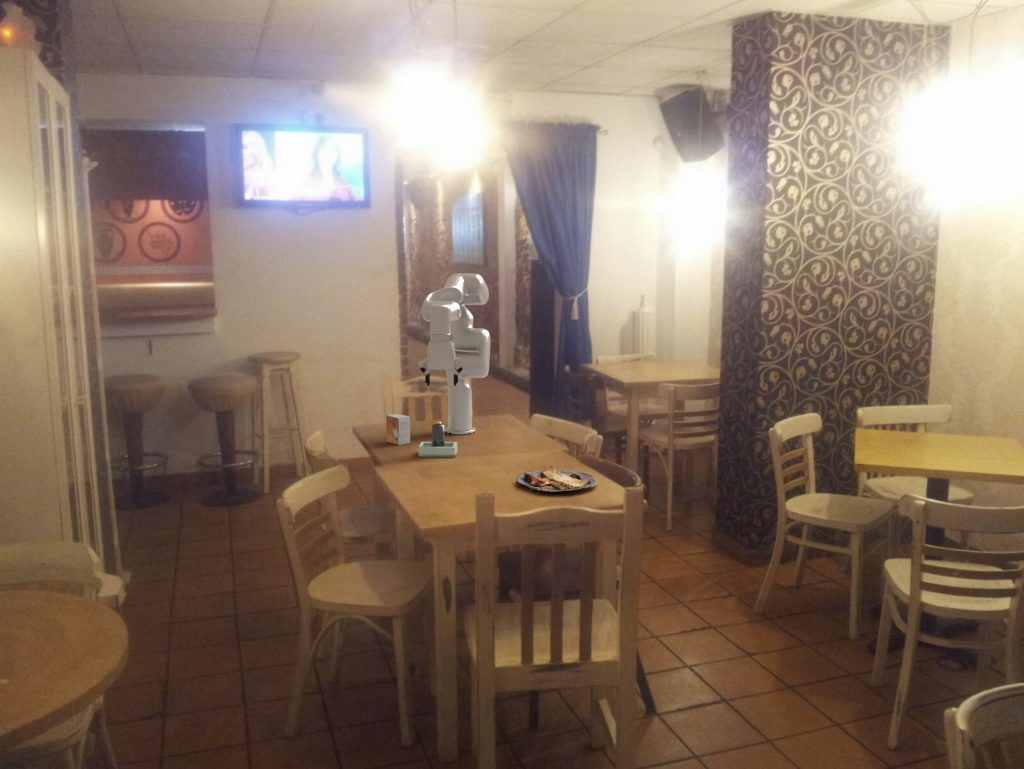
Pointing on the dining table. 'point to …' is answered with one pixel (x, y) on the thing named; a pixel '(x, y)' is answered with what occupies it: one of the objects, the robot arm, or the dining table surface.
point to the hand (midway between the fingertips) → (441, 385)
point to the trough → (437, 450)
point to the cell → (438, 434)
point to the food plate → (556, 479)
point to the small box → (398, 429)
